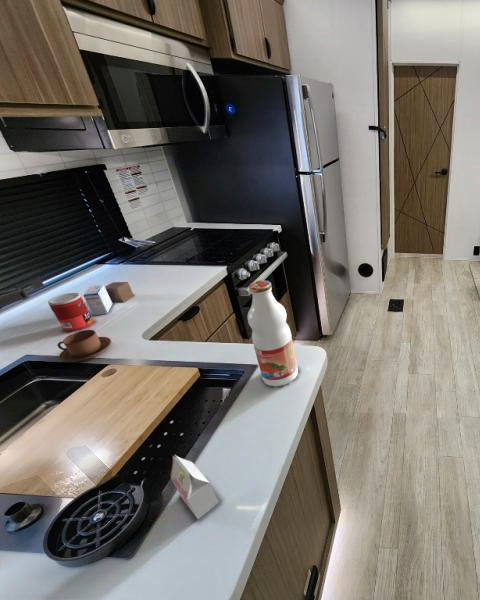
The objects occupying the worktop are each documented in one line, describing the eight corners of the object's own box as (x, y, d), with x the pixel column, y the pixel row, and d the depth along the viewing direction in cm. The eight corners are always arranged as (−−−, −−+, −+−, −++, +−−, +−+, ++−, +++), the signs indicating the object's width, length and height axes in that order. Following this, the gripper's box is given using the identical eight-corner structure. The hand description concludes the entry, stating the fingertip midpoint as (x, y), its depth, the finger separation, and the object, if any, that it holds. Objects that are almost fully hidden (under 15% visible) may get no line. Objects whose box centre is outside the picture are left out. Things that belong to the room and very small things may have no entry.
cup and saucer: (59, 371, 93) (48, 353, 90) (65, 350, 102) (55, 334, 99) (112, 355, 99) (103, 339, 96) (114, 337, 108) (106, 321, 105)
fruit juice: (305, 373, 92) (288, 282, 79) (276, 392, 85) (252, 297, 72) (285, 360, 97) (266, 272, 84) (255, 377, 90) (230, 285, 77)
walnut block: (107, 302, 129) (101, 288, 127) (118, 295, 135) (112, 282, 132) (123, 302, 130) (116, 288, 127) (133, 295, 135) (127, 281, 132)
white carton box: (201, 481, 64) (184, 447, 59) (218, 502, 61) (202, 467, 56) (181, 496, 62) (162, 462, 57) (198, 519, 58) (179, 484, 53)
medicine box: (99, 306, 126) (88, 286, 122) (113, 304, 128) (103, 284, 124) (93, 316, 120) (82, 295, 116) (108, 313, 122) (98, 292, 118)
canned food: (95, 325, 114) (80, 297, 109) (64, 334, 110) (47, 306, 104) (93, 317, 119) (79, 290, 114) (63, 325, 115) (47, 297, 109)
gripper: (-117, 334, 79) (-20, 293, 97) (-10, 333, 79) (66, 292, 98) (-142, 307, 75) (-36, 270, 94) (-30, 306, 76) (53, 269, 94)
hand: (16, 281), depth 96 cm, fingers open, 13 cm apart
